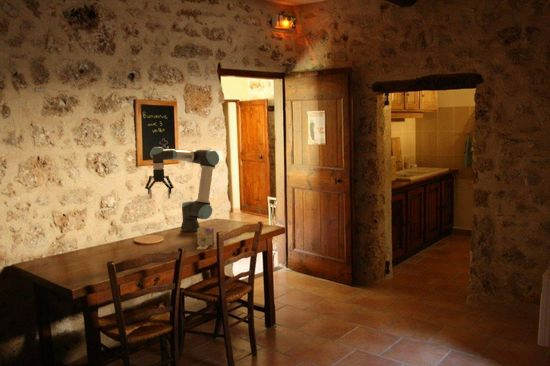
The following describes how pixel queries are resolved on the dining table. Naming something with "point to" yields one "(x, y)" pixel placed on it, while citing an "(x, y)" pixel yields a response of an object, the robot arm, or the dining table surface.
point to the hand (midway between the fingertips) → (160, 198)
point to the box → (209, 235)
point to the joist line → (202, 247)
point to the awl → (203, 239)
